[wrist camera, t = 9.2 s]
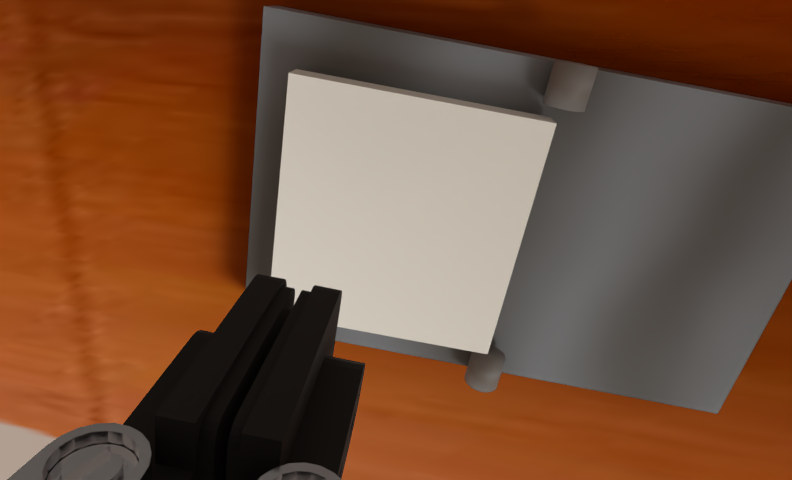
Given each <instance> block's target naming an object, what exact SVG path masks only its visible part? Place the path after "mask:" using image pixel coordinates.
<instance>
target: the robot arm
mask: <svg viewBox="0 0 792 480" xmlns="http://www.w3.org/2000/svg"><path fill="white" fill-rule="evenodd" d="M341 298H342V290H337V289H332V288H327V287H322V286H317V285H314V286H313V288H312V290H311V292H310V291H305V290H302V291H301V293H300V295H299V297H298V298H297V300H296V302H295V304H294V299H295V289H294V288H290V287H287V283H286V279H282V278H277V277H272V276H267V275H262V274H257V275H256V276H255V277H254V278H253V280H252V281H251V282H250V284H249V285H248V287H247V288H246V289H245V291H244V292H243V294H242V295H241V296H240V298H239V299H238V300H237V302H236V303H235V305H234V306H233V307H232V309H231V310H230V311H229V313H228V314H227V316H226V317H225V318H224V320H223V321H222V322H221V324H220V325H219V327H218V328H217V329H216V331H215V332H214V333H213V332H208V331H203V330H200V331H197V332H196V333H195V334H194V335H193V336H192V337H191V338H190V340H189V341H188V342H187V343H186V345H185V346H184V347H183V348H182V350H181V351H180V352H179V354H178V355H177V356H176V357H175V359H174V360H173V361H172V363H171V364H170V365H169V366H168V368H167V369H166V370H165V371H164V373H163V374H162V375H161V377H160V378H159V379H158V380H157V382H156V383H155V384H154V386H153V387H152V388H151V389H150V391H149V392H148V393H147V394H146V396H145V397H144V398H143V400H142V401H141V402H140V403H139V405H138V406H137V407H136V409H135V410H134V411H133V412H132V414H131V415H130V416H129V417H128V419H127V420H126V421H125V423H124V424H123V425H121V424H116V423H101V424H93V425H89V426H85V427H80V428H77V429H75V430H73V431H71V432H68V433H66V434H64V435H61V436H60V437H59V438H57V439H56V440H54V441H53V442H51V443H50V444H48V445H47V446H46V447H45V448H43V449H42V450H41V451H40V452H39V453H38V454H37V455H35V456H34V457H33V458H32V459H31V460H30V461H28V462H27V463H26V464H25V465H24V466H22V467H21V468H20V469H19V470H18V471H17V472H16V473H14V474H13V475H12V476H11V477H10V478H9V479H7V480H341V478H342V474H343V469H344V465H345V461H346V457H347V452H348V448H349V444H350V439H351V435H352V430H353V426H354V421H355V416H356V412H357V407H358V402H359V396H360V391H361V386H362V380H363V375H364V369H365V363H360V362H355V361H350V360H346V359H341V358H336V357H333V351H334V344H335V338H336V331H337V325H338V318H339V312H340V305H341Z"/></svg>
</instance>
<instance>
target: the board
mask: <svg viewBox="0 0 792 480" xmlns="http://www.w3.org/2000/svg"><path fill="white" fill-rule="evenodd" d="M295 69H299V70H304V71H309V72H315V73H320V74H325V75H331V76H336V77H341V78H346V79H352V80H357V81H362V82H368V83H373V84H378V85H383V86H389V87H394V88H399V89H405V90H410V91H415V92H420V93H426V94H431V95H436V96H442V97H447V98H452V99H457V100H463V101H468V102H473V103H479V104H484V105H489V106H494V107H500V108H505V109H510V110H516V111H521V112H526V113H531V114H537V115H542V116H547V117H551V118H552V119H553V120H554V121H555V122H556V123H557V125H556V128H555V131H554V135H553V138H552V141H551V145H550V148H549V151H548V155H547V158H546V161H545V165H544V168H543V171H542V175H541V178H540V181H539V185H538V188H537V191H536V195H535V198H534V201H533V205H532V208H531V211H530V215H529V218H528V221H527V225H526V228H525V231H524V235H523V238H522V241H521V245H520V248H519V251H518V255H517V258H516V261H515V265H514V268H513V271H512V275H511V278H510V281H509V285H508V288H507V291H506V295H505V298H504V301H503V305H502V308H501V311H500V315H499V318H498V321H497V325H496V328H495V331H494V335H493V338H492V341H491V345H490V348H489V351H488V354H483V353H477V352H472V351H466V350H461V349H455V348H450V347H445V346H439V345H434V344H428V343H423V342H417V341H412V340H407V339H401V338H396V337H390V336H385V335H380V334H374V333H369V332H363V331H358V330H352V329H347V328H342V327H337V331H336V338H335V341H340V342H345V343H350V344H355V345H361V346H366V347H371V348H376V349H382V350H387V351H392V352H397V353H402V354H408V355H413V356H418V357H423V358H429V359H434V360H439V361H444V362H450V363H455V364H460V365H465V366H468V367H467V370H466V374H465V381H466V383H467V384H468V385H469V386H470V387H471V388H473V389H475V390H477V391H480V392H492V391H494V390H495V389H496V388H497V385H498V382H499V379H500V376H501V372H502V373H507V374H512V375H518V376H523V377H528V378H533V379H539V380H544V381H549V382H554V383H559V384H565V385H570V386H575V387H580V388H586V389H591V390H596V391H601V392H607V393H612V394H617V395H622V396H627V397H633V398H638V399H643V400H648V401H654V402H659V403H664V404H669V405H675V406H680V407H685V408H690V409H695V410H701V411H706V412H711V413H716V414H718V412H719V410H720V408H721V407H722V405H723V403H724V401H725V399H726V398H727V396H728V394H729V392H730V390H731V388H732V387H733V385H734V383H735V381H736V379H737V378H738V376H739V374H740V372H741V370H742V369H743V367H744V365H745V363H746V361H747V359H748V358H749V356H750V354H751V352H752V350H753V349H754V347H755V345H756V343H757V341H758V340H759V338H760V336H761V334H762V332H763V331H764V329H765V327H766V325H767V323H768V321H769V320H770V318H771V316H772V314H773V312H774V311H775V309H776V307H777V305H778V303H779V302H780V300H781V298H782V296H783V294H784V292H785V291H786V289H787V287H788V285H789V283H790V282H791V280H792V104H790V103H785V102H780V101H775V100H769V99H764V98H759V97H754V96H748V95H743V94H738V93H733V92H728V91H722V90H717V89H712V88H707V87H701V86H696V85H691V84H686V83H680V82H675V81H670V80H665V79H660V78H654V77H649V76H644V75H639V74H633V73H628V72H623V71H618V70H612V69H607V68H602V67H597V66H591V65H587V64H583V63H578V62H573V61H568V60H562V59H555V58H550V57H544V56H539V55H534V54H529V53H523V52H518V51H513V50H508V49H503V48H497V47H492V46H487V45H482V44H476V43H471V42H466V41H461V40H455V39H450V38H445V37H440V36H435V35H429V34H424V33H419V32H414V31H408V30H403V29H398V28H393V27H387V26H382V25H377V24H372V23H366V22H361V21H356V20H351V19H346V18H340V17H335V16H330V15H325V14H319V13H314V12H309V11H304V10H298V9H293V8H288V7H283V6H264V7H263V23H262V39H261V55H260V70H259V86H258V102H257V117H256V133H255V149H254V164H253V180H252V196H251V211H250V227H249V243H248V258H247V274H246V288H247V287H248V285H249V284H250V282H251V281H252V280H253V278H254V277H255V276H256V275H257V274H262V275H267V276H271V272H272V260H273V248H274V237H275V225H276V213H277V202H278V190H279V179H280V167H281V155H282V144H283V132H284V120H285V109H286V97H287V85H288V74H289V72H291V71H293V70H295Z"/></svg>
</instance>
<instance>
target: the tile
mask: <svg viewBox="0 0 792 480" xmlns="http://www.w3.org/2000/svg"><path fill="white" fill-rule="evenodd" d="M556 125H557V123H556V122H555V121H554V120H553V119H552V118H551V117H547V116H542V115H537V114H531V113H526V112H521V111H516V110H510V109H505V108H500V107H494V106H489V105H484V104H479V103H473V102H468V101H463V100H457V99H452V98H447V97H442V96H436V95H431V94H426V93H420V92H415V91H410V90H405V89H399V88H394V87H389V86H383V85H378V84H373V83H368V82H362V81H357V80H352V79H346V78H341V77H336V76H331V75H325V74H320V73H315V72H309V71H304V70H299V69H295V70H293V71H291V72H289V74H288V85H287V97H286V109H285V120H284V132H283V144H282V155H281V167H280V179H279V190H278V202H277V213H276V225H275V237H274V248H273V260H272V272H271V276H272V277H277V278H282V279H286V283H287V287H290V288H294V289H295V299H294V304H295V302H296V300H297V298H298V297H299V295H300V293H301V291H302V290H305V291H310V292H311V290H312V288H313V286H314V285H317V286H322V287H327V288H332V289H337V290H342V298H341V305H340V312H339V318H338V325H337V327H342V328H347V329H352V330H358V331H363V332H369V333H374V334H380V335H385V336H390V337H396V338H401V339H407V340H412V341H417V342H423V343H428V344H434V345H439V346H445V347H450V348H455V349H461V350H466V351H472V352H477V353H483V354H488V351H489V348H490V345H491V341H492V338H493V335H494V331H495V328H496V325H497V321H498V318H499V315H500V311H501V308H502V305H503V301H504V298H505V295H506V291H507V288H508V285H509V281H510V278H511V275H512V271H513V268H514V265H515V261H516V258H517V255H518V251H519V248H520V245H521V241H522V238H523V235H524V231H525V228H526V225H527V221H528V218H529V215H530V211H531V208H532V205H533V201H534V198H535V195H536V191H537V188H538V185H539V181H540V178H541V175H542V171H543V168H544V165H545V161H546V158H547V155H548V151H549V148H550V145H551V141H552V138H553V135H554V131H555V128H556Z"/></svg>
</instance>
